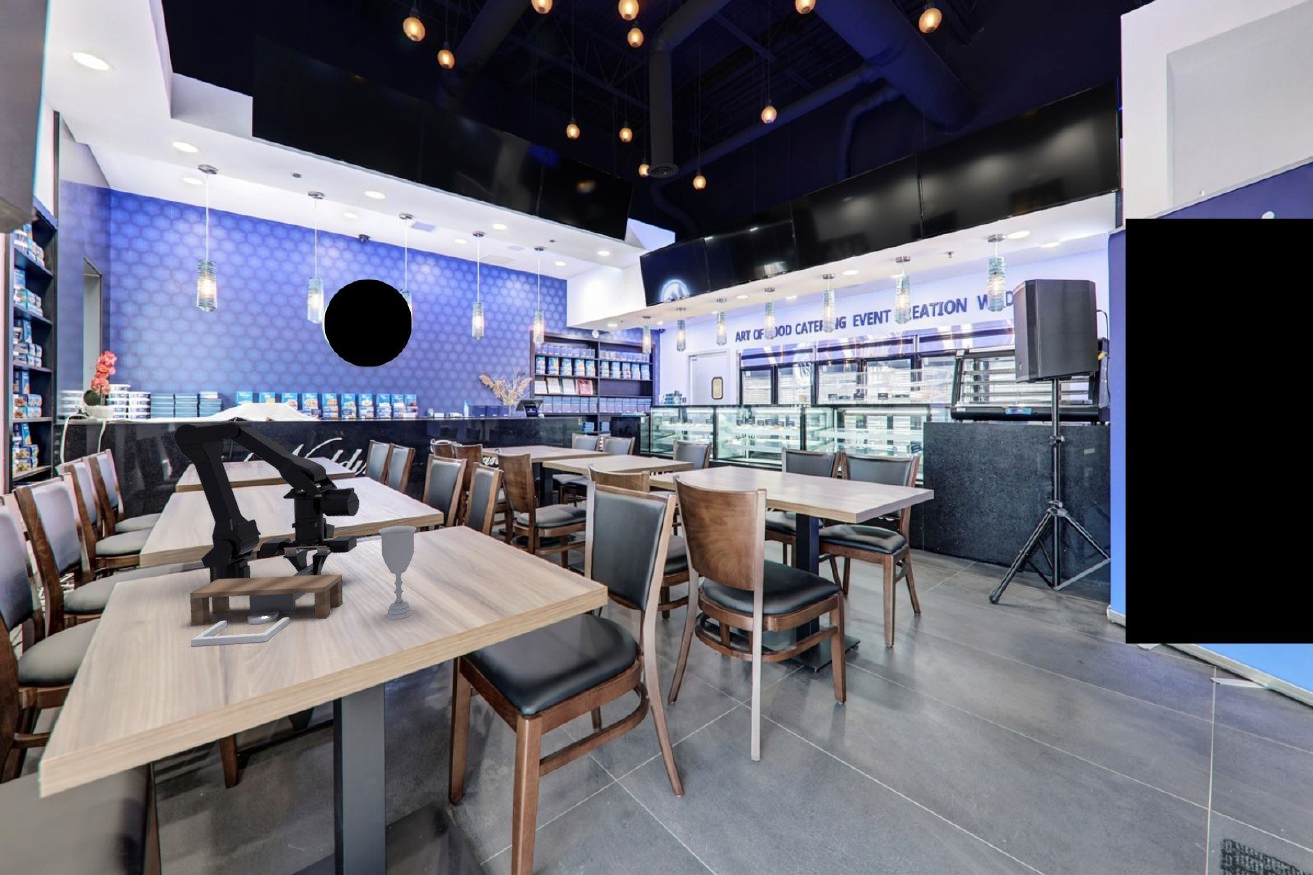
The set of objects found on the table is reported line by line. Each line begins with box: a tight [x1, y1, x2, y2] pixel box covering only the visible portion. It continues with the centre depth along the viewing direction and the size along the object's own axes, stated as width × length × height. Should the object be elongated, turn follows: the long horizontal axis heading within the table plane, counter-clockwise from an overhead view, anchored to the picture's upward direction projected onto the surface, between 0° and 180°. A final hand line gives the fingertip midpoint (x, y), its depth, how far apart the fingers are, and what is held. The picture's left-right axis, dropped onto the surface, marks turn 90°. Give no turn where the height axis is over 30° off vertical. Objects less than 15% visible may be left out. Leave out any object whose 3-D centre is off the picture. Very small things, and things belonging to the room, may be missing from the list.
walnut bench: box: [189, 573, 344, 627], centre depth 105 cm, size 24×8×6 cm, turn 100°
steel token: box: [247, 609, 280, 626], centre depth 102 cm, size 5×5×1 cm
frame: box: [190, 616, 290, 647], centre depth 96 cm, size 12×8×1 cm, turn 100°
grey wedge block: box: [249, 562, 322, 615], centre depth 115 cm, size 8×20×4 cm, turn 11°
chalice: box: [378, 525, 417, 620], centre depth 105 cm, size 7×7×18 cm
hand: (311, 580), depth 122 cm, fingers closed on grey wedge block, 2 cm apart
